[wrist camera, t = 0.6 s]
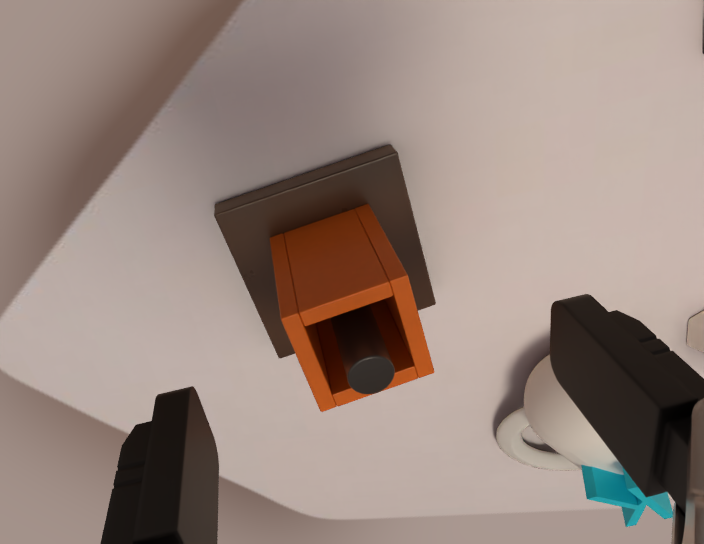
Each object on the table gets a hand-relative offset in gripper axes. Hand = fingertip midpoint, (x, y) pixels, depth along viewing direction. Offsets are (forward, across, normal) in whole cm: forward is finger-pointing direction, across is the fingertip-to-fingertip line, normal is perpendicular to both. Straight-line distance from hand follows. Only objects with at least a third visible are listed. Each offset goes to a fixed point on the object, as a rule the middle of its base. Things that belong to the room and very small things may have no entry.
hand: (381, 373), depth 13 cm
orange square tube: (+18, -1, +7) cm, 20 cm away
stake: (+20, -1, +7) cm, 21 cm away
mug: (+20, -15, +24) cm, 34 cm away
